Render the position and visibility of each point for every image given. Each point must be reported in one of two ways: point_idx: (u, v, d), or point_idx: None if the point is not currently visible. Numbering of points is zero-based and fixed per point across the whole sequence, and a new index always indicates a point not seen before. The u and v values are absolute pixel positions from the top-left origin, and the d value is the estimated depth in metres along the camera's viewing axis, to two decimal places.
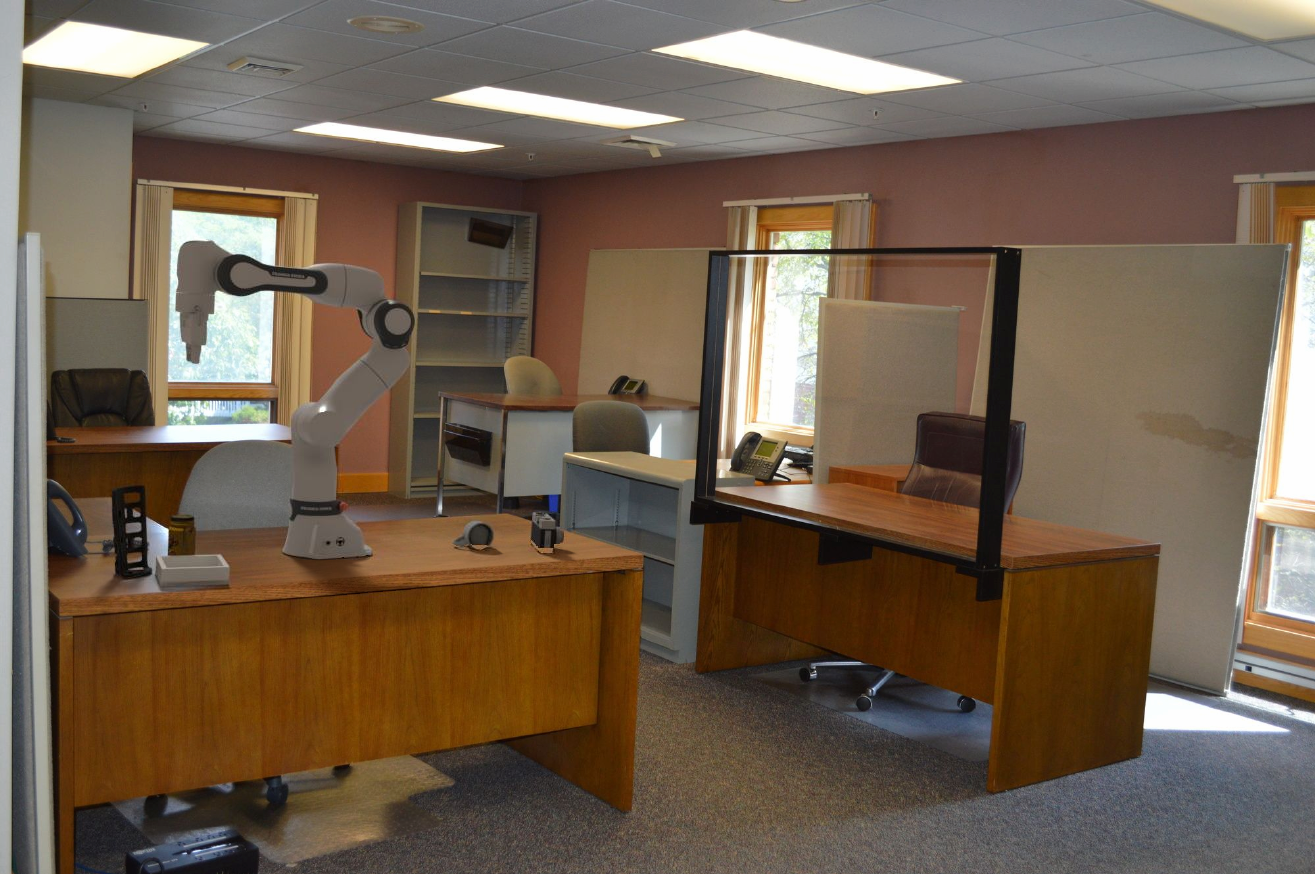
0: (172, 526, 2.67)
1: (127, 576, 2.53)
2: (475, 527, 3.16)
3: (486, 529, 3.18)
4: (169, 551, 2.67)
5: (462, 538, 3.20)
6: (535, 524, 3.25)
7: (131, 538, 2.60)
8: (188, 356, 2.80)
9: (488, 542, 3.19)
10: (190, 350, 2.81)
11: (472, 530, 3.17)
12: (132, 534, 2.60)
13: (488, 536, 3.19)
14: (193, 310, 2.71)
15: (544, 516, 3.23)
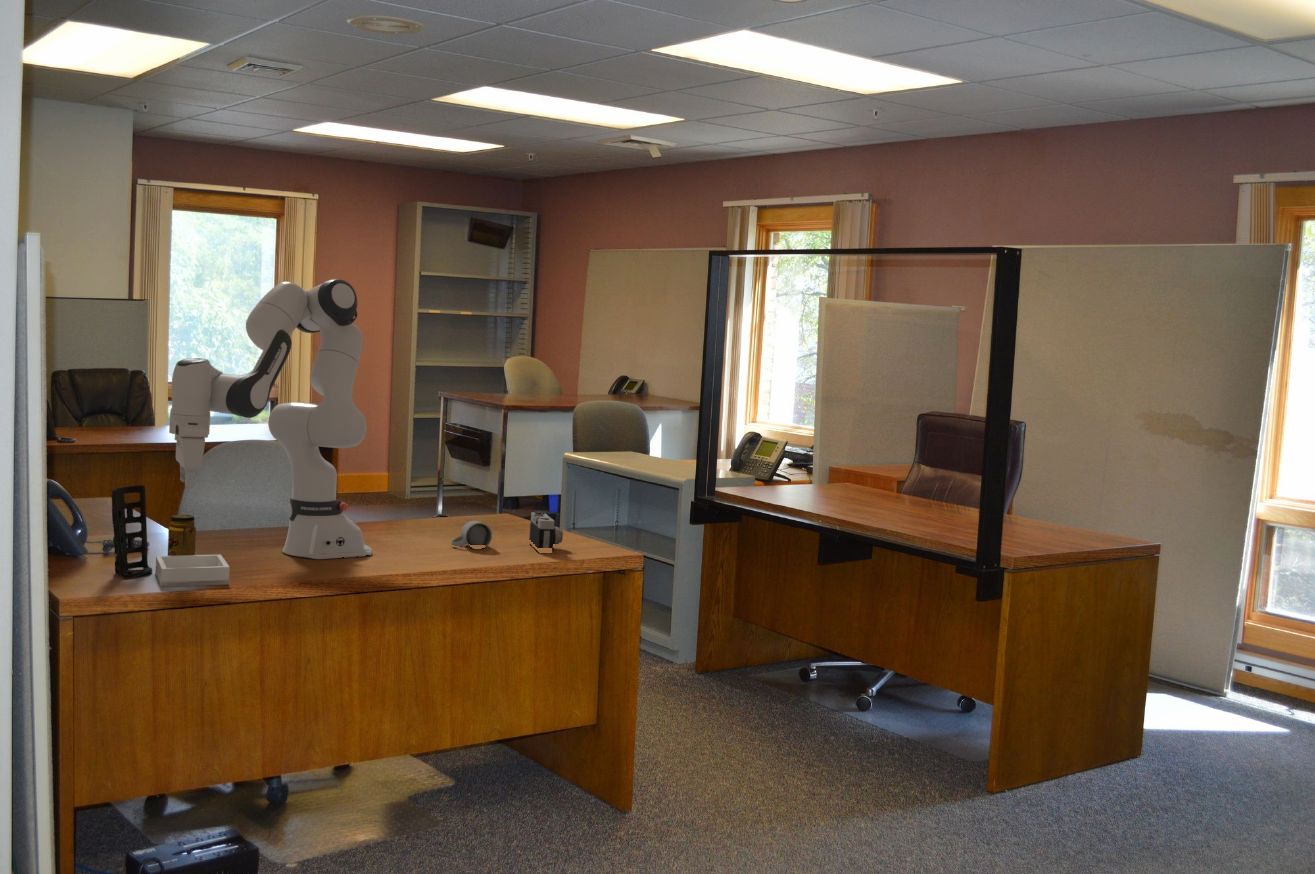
0: (172, 526, 2.67)
1: (127, 576, 2.53)
2: (473, 527, 3.16)
3: (484, 529, 3.18)
4: (169, 551, 2.67)
5: (460, 538, 3.20)
6: (534, 524, 3.24)
7: (131, 538, 2.60)
8: None
9: (486, 542, 3.19)
10: None
11: (470, 530, 3.16)
12: (132, 534, 2.60)
13: (486, 536, 3.19)
14: None
15: (543, 516, 3.23)
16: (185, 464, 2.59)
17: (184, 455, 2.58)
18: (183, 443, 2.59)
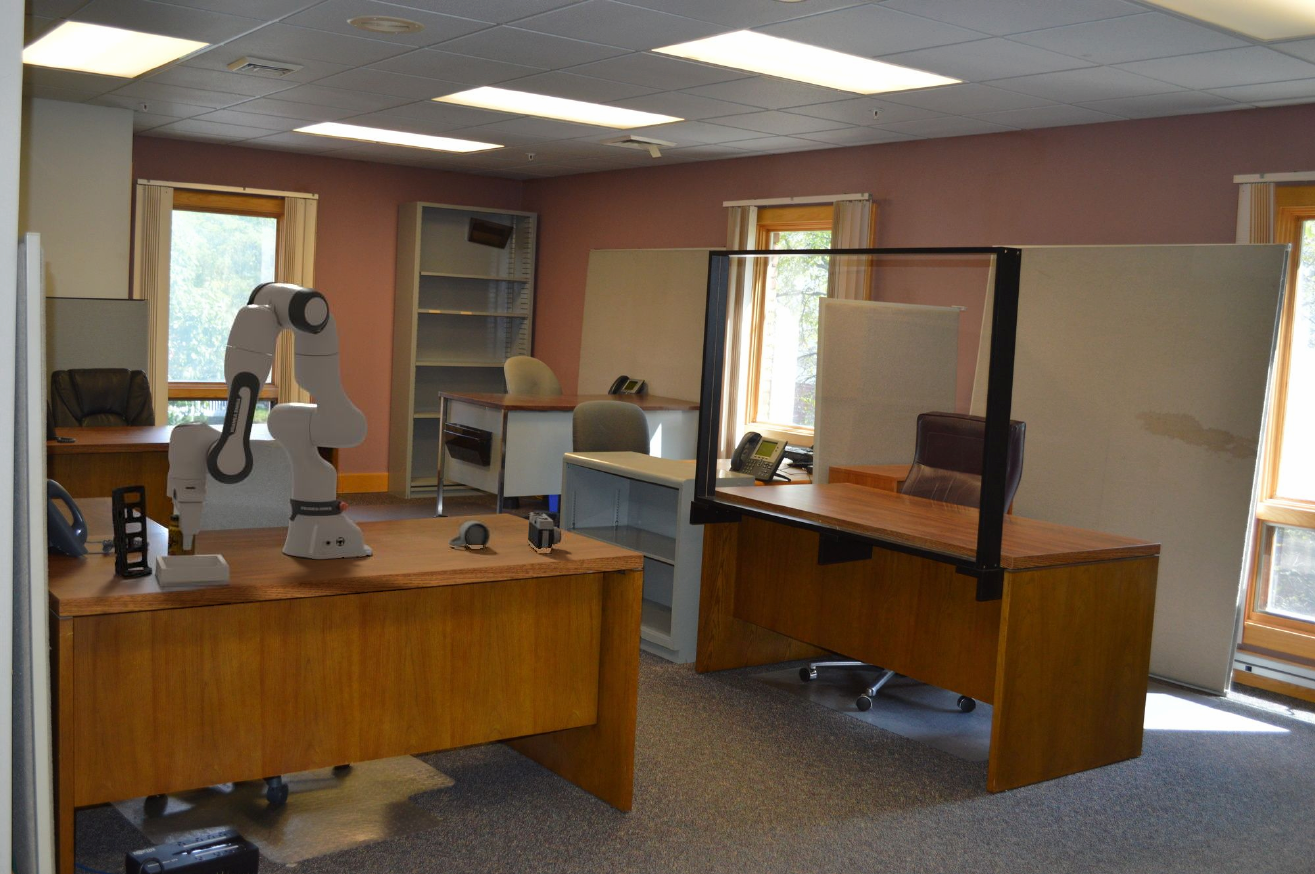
0: (172, 525, 2.67)
1: (127, 576, 2.53)
2: (471, 527, 3.16)
3: (482, 529, 3.18)
4: (169, 550, 2.67)
5: (458, 538, 3.20)
6: (532, 524, 3.24)
7: (131, 538, 2.60)
8: None
9: (484, 542, 3.18)
10: None
11: (468, 530, 3.16)
12: (132, 534, 2.60)
13: (484, 536, 3.19)
14: None
15: (541, 516, 3.23)
16: (183, 529, 2.60)
17: (182, 520, 2.60)
18: (181, 508, 2.60)
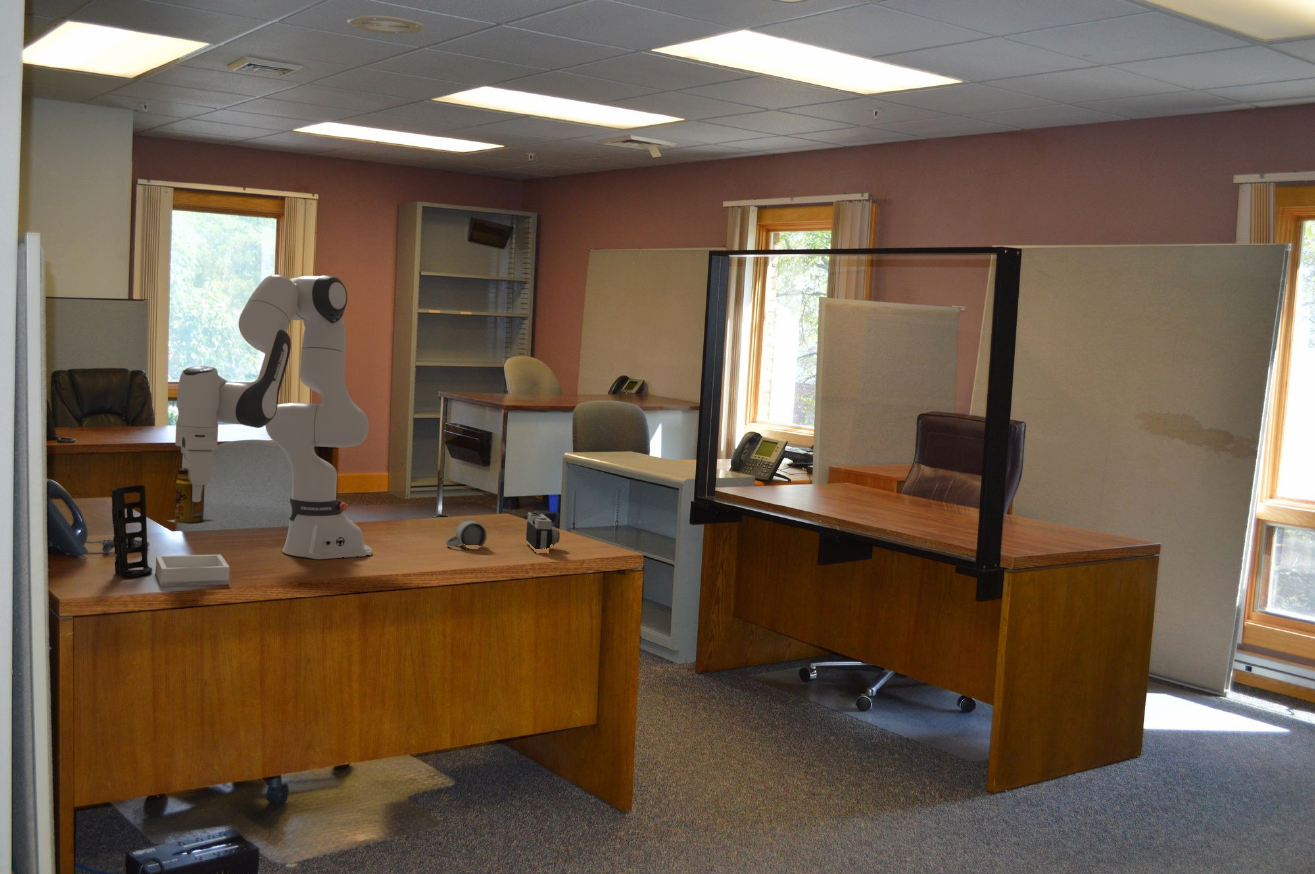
0: (180, 479, 2.53)
1: (127, 576, 2.53)
2: (468, 527, 3.16)
3: (479, 529, 3.17)
4: (177, 506, 2.53)
5: (455, 538, 3.20)
6: (531, 524, 3.24)
7: (131, 538, 2.60)
8: None
9: (481, 542, 3.18)
10: None
11: (465, 530, 3.16)
12: (132, 534, 2.60)
13: (481, 536, 3.18)
14: None
15: (540, 516, 3.23)
16: (192, 478, 2.46)
17: (191, 469, 2.46)
18: (190, 456, 2.46)
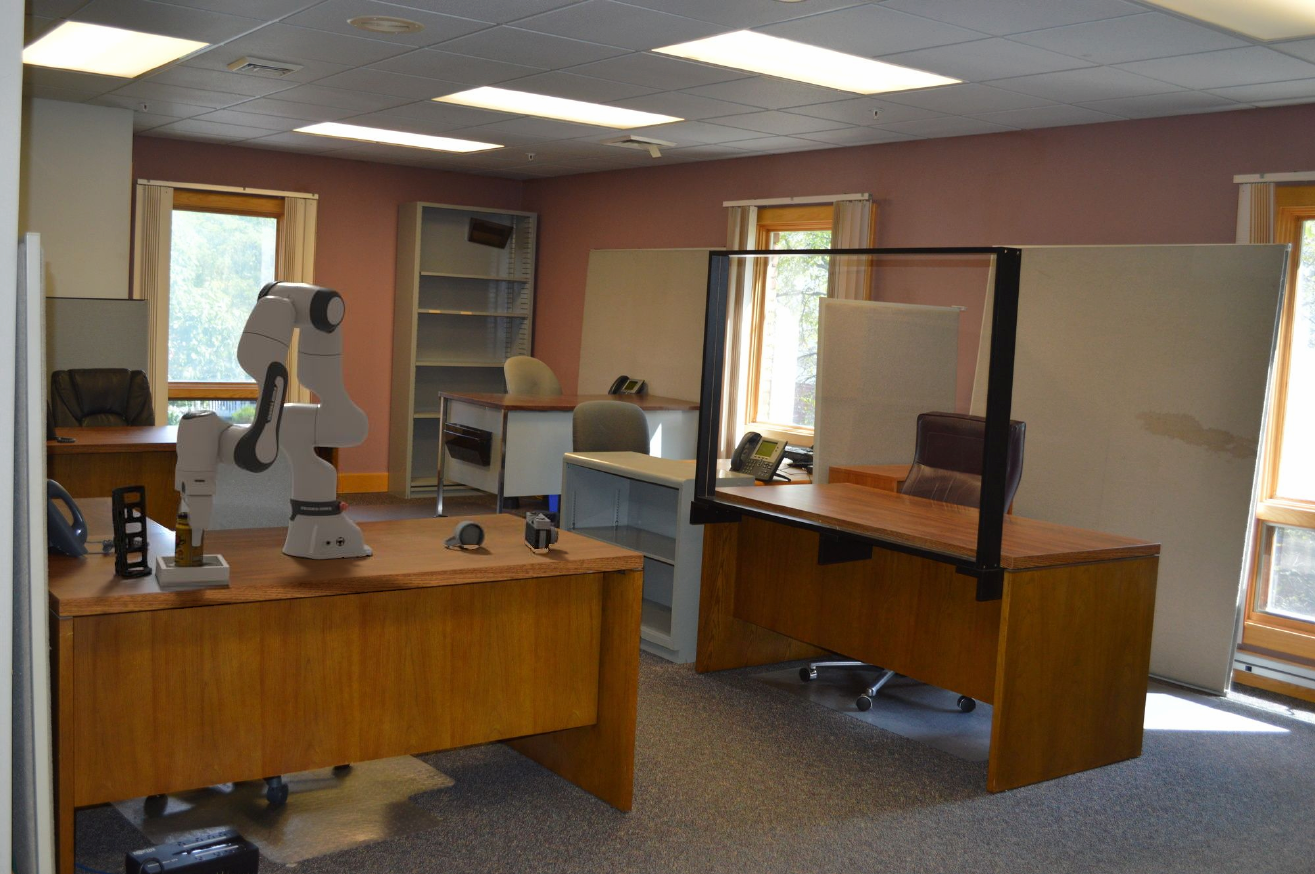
0: (179, 524, 2.53)
1: (127, 576, 2.53)
2: (466, 527, 3.16)
3: (477, 529, 3.17)
4: (176, 550, 2.54)
5: (453, 538, 3.20)
6: (529, 524, 3.24)
7: (131, 538, 2.60)
8: None
9: (479, 542, 3.18)
10: None
11: (463, 530, 3.16)
12: (132, 534, 2.60)
13: (479, 536, 3.18)
14: None
15: (538, 516, 3.23)
16: (192, 524, 2.46)
17: (191, 514, 2.46)
18: (190, 502, 2.46)
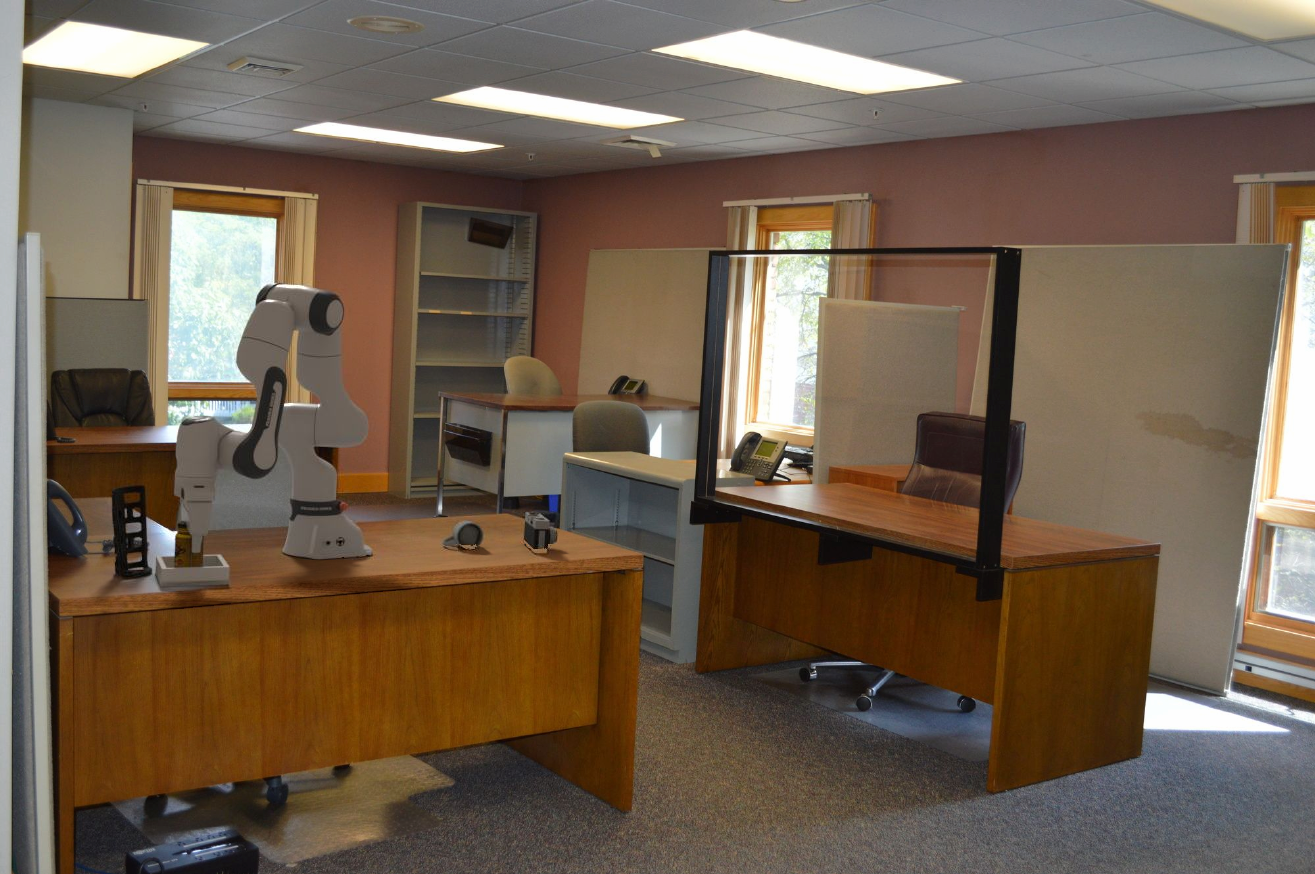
0: (179, 533, 2.54)
1: (127, 576, 2.53)
2: (464, 527, 3.15)
3: (476, 529, 3.17)
4: (176, 559, 2.54)
5: (452, 538, 3.19)
6: (528, 524, 3.24)
7: (131, 538, 2.60)
8: None
9: (478, 542, 3.18)
10: None
11: (461, 530, 3.15)
12: (132, 534, 2.60)
13: (478, 536, 3.18)
14: None
15: (537, 516, 3.22)
16: (191, 530, 2.47)
17: (190, 521, 2.46)
18: (189, 508, 2.47)
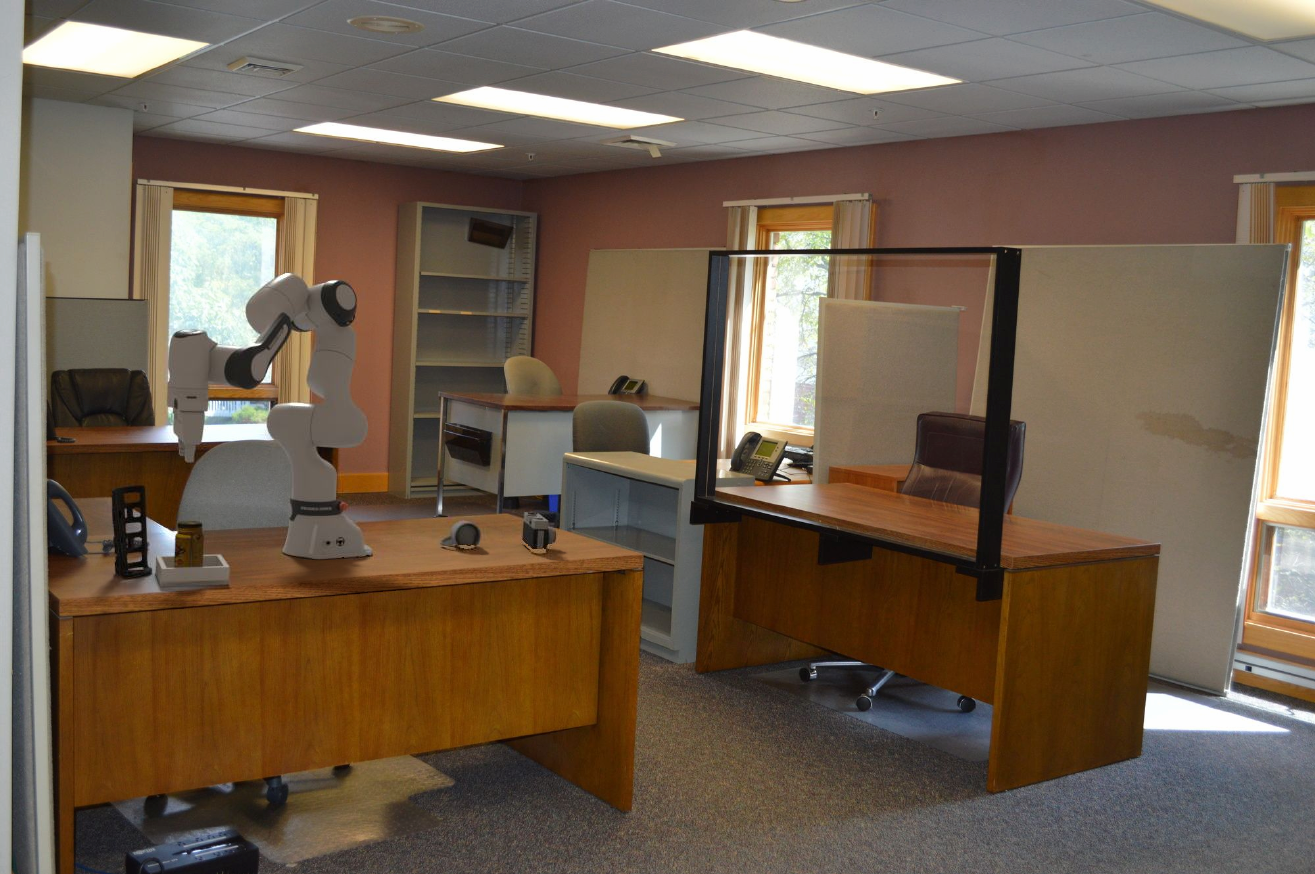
0: (179, 533, 2.54)
1: (127, 576, 2.53)
2: (462, 527, 3.15)
3: (473, 529, 3.17)
4: (176, 559, 2.54)
5: (449, 538, 3.19)
6: (527, 524, 3.23)
7: (131, 538, 2.60)
8: None
9: (475, 542, 3.17)
10: None
11: (459, 530, 3.15)
12: (132, 534, 2.60)
13: (475, 536, 3.18)
14: None
15: (536, 516, 3.22)
16: (185, 439, 2.53)
17: (184, 430, 2.53)
18: (183, 417, 2.53)
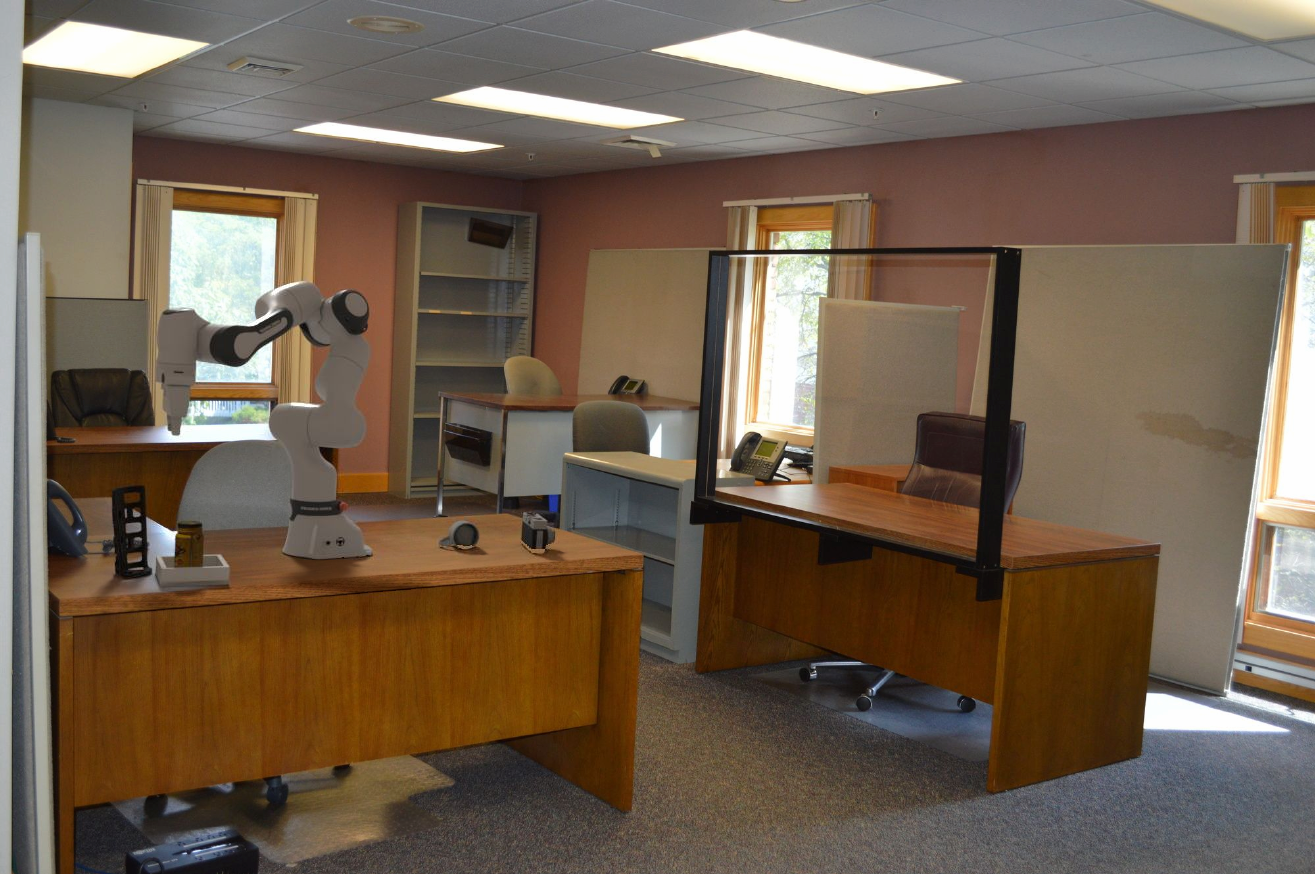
0: (179, 533, 2.54)
1: (127, 576, 2.53)
2: (460, 527, 3.15)
3: (472, 529, 3.16)
4: (176, 559, 2.54)
5: (448, 538, 3.19)
6: (526, 524, 3.23)
7: (131, 538, 2.60)
8: None
9: (474, 542, 3.17)
10: None
11: (457, 530, 3.15)
12: (132, 534, 2.60)
13: (474, 536, 3.18)
14: None
15: (535, 516, 3.22)
16: (171, 412, 2.61)
17: (170, 403, 2.60)
18: (169, 391, 2.61)
